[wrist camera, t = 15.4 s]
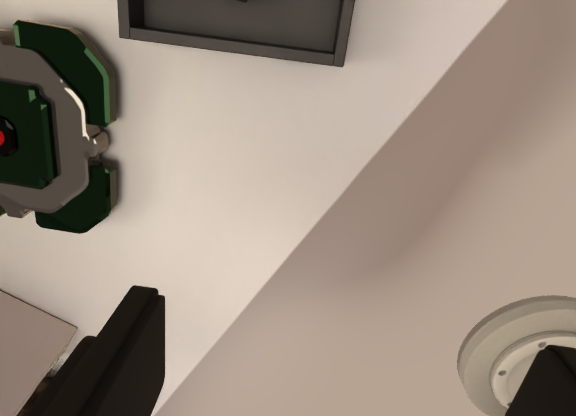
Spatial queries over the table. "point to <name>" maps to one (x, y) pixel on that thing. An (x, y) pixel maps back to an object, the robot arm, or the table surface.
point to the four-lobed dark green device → (55, 127)
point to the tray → (244, 26)
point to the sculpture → (34, 396)
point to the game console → (26, 350)
